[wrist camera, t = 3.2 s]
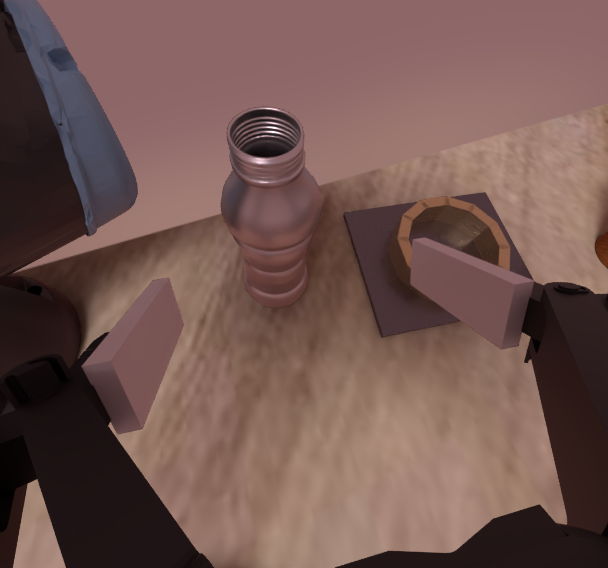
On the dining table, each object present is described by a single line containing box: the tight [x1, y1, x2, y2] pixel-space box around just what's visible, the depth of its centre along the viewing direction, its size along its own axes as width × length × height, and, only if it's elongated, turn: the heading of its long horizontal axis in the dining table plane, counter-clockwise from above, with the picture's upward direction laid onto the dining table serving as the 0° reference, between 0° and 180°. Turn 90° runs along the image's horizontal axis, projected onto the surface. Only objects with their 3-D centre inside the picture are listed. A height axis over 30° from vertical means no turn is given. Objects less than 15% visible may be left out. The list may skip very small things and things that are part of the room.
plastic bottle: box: [221, 107, 322, 308], centre depth 23 cm, size 6×7×20 cm
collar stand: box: [343, 192, 533, 337], centre depth 33 cm, size 20×16×4 cm
